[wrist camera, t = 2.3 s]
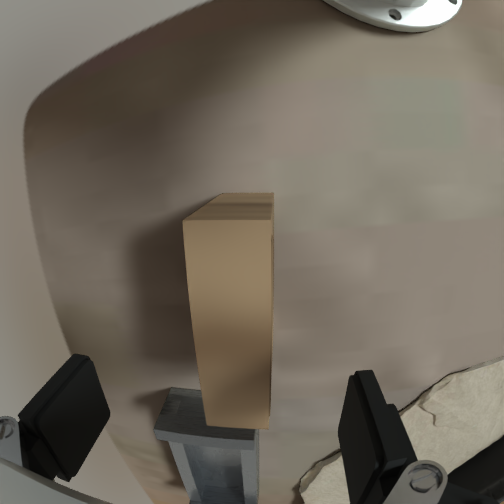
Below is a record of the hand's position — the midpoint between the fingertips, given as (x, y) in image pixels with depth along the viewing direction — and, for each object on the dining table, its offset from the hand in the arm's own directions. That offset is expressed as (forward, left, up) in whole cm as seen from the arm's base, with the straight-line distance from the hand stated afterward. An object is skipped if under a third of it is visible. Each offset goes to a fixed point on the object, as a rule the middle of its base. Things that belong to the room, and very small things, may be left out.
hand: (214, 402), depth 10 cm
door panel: (-1, 0, -10) cm, 10 cm away
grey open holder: (+17, -3, -10) cm, 20 cm away
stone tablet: (+19, +17, -11) cm, 28 cm away
